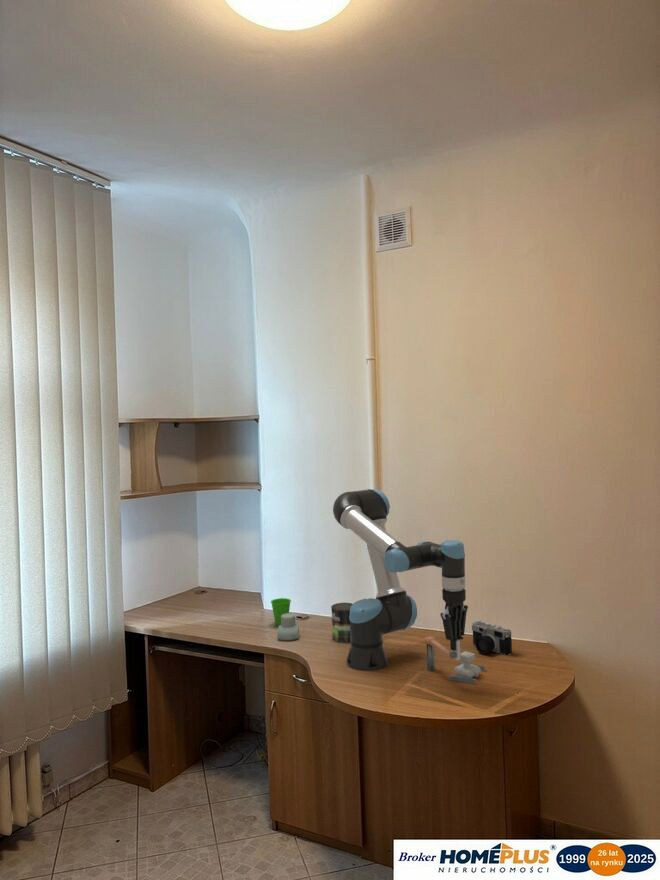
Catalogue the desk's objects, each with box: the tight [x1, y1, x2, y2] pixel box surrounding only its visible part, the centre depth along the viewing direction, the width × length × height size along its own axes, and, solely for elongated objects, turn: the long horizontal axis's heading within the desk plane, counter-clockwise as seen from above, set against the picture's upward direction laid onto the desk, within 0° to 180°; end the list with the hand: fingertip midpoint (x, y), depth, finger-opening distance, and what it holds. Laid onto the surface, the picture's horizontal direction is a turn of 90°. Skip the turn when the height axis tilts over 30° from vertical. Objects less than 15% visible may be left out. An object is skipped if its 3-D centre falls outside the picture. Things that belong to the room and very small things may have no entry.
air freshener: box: [277, 612, 300, 642], centre depth 250 cm, size 11×8×10 cm
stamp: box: [453, 650, 482, 679], centre depth 207 cm, size 9×7×8 cm
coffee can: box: [330, 602, 353, 644], centre depth 247 cm, size 10×10×14 cm
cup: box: [270, 597, 292, 628], centre depth 267 cm, size 9×9×11 cm
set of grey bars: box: [425, 644, 486, 685], centre depth 210 cm, size 20×13×10 cm, turn 61°
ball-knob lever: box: [424, 635, 457, 661], centre depth 205 cm, size 20×4×2 cm, turn 16°
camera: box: [471, 619, 513, 656], centre depth 230 cm, size 18×10×10 cm, turn 38°
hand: (455, 658), depth 200 cm, fingers closed
